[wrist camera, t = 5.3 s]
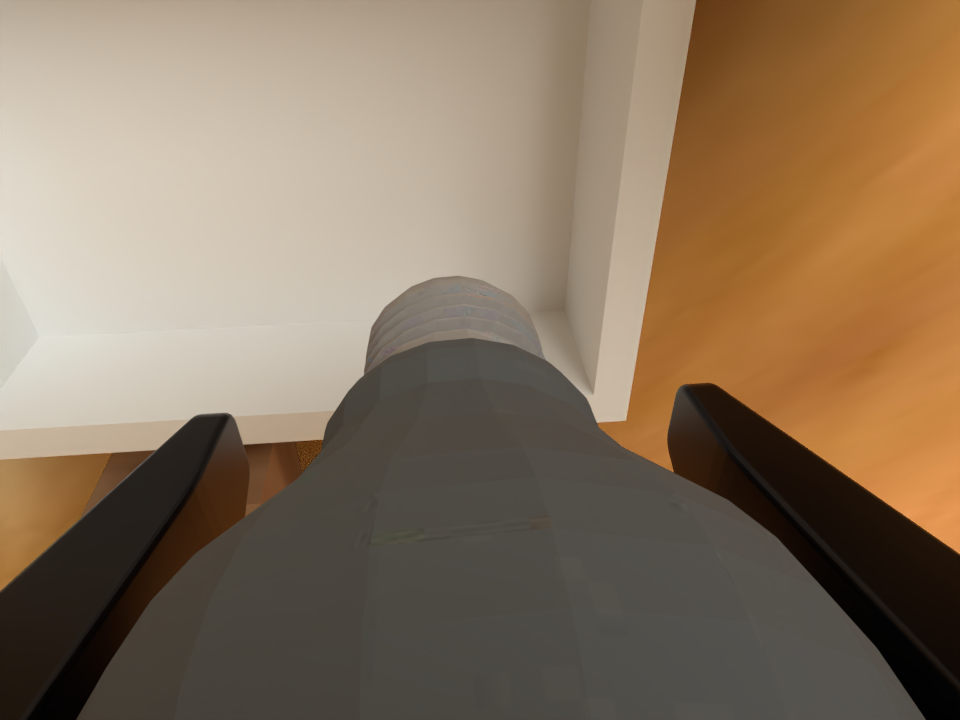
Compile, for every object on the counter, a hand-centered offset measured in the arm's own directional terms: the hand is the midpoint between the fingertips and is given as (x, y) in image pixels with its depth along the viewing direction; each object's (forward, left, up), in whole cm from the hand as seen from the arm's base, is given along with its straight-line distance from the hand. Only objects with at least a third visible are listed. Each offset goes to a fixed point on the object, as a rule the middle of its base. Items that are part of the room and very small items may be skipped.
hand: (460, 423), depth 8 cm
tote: (+4, 0, -12) cm, 13 cm away
